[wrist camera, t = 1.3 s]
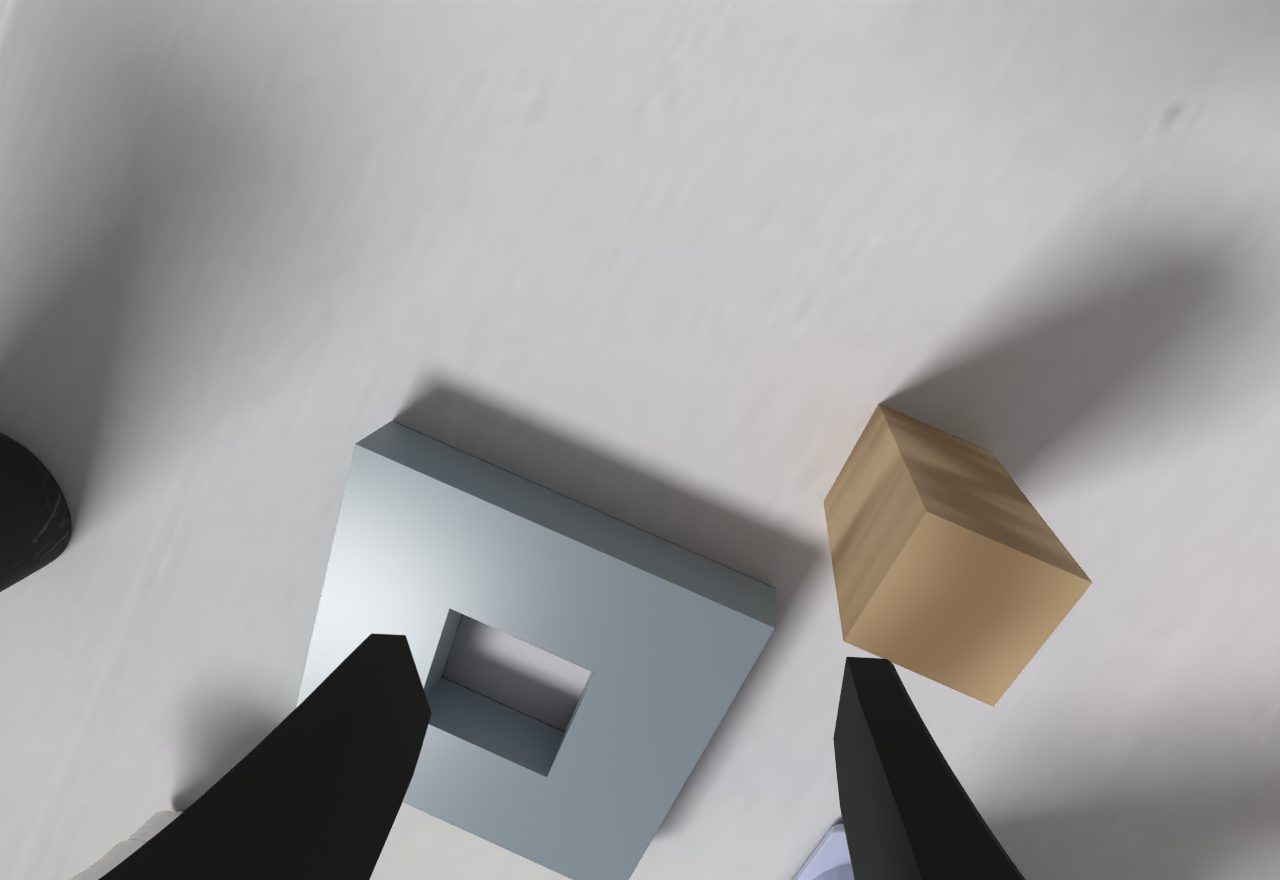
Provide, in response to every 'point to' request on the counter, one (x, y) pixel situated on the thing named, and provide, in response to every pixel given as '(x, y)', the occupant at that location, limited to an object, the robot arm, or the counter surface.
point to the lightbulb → (128, 846)
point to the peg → (943, 558)
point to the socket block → (551, 620)
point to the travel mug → (28, 514)
